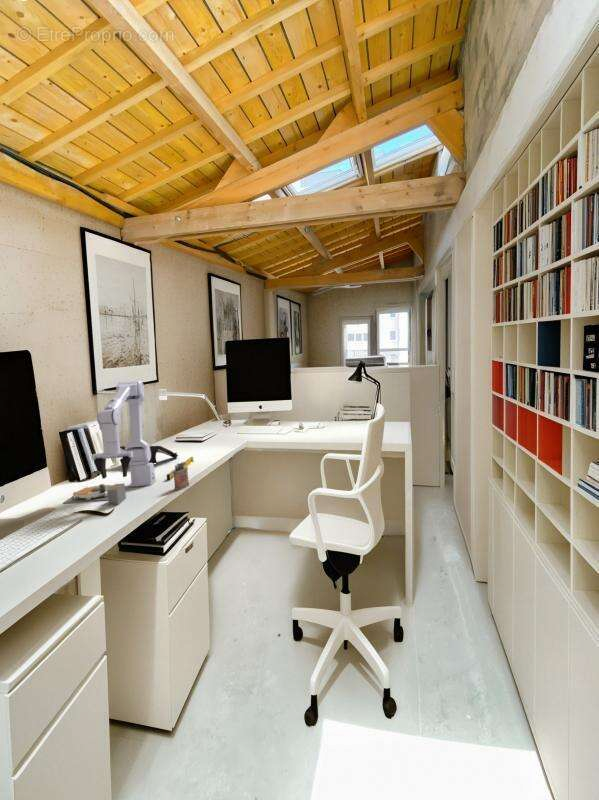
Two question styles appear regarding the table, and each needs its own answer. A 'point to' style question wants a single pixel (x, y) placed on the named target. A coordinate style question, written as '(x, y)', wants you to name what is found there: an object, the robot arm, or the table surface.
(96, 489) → the sprocket
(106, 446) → the robot arm
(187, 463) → the spirit level
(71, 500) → the base plate
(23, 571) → the table surface
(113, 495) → the orange striped gray block
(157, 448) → the portable electronic device stand
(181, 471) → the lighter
